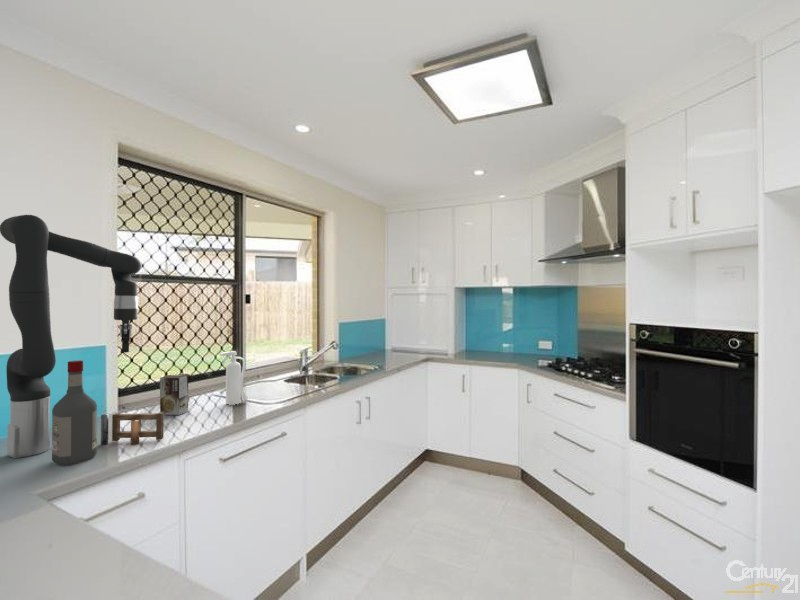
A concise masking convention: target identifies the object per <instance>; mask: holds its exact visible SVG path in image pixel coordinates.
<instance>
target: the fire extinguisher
mask: <svg viewBox="0 0 800 600" xmlns="http://www.w3.org/2000/svg"><path fill="white" fill-rule="evenodd" d="M237 355H238V354H237V351H236V350H233V351H232V350H231V351H225V352H221V353H219V356H226V357H224V359H223V360H222V362H221V365H223V366H225V363H226V361H227V360H228V359H229V358H230V357H231V360H230V362H228V363H227V364H226V366H225V405H226V404H229V405H228V406H236V405H235V404H237V405H239V403H240V404H241V403H242V402H245V401H248V400H249V399H250V397H249V395H248V394H247V391H245V389H244V376H245V367H246V359H245V358H244V357H242V356H237ZM238 359H239V360H241V361H242V365H241V363H240V362H238V361H237V360H238ZM241 400H242V401H241Z"/></svg>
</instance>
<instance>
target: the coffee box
mask: <svg viewBox="0 0 800 600" xmlns="http://www.w3.org/2000/svg"><path fill="white" fill-rule="evenodd" d="M187 411H188V412H189V375H188V374H168V375H165V376H162V377H161V376H160V377H159V412H164V416H180V414H181V415H183V414H185V412H186V413H187ZM182 413H183V414H182Z"/></svg>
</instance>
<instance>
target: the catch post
mask: <svg viewBox="0 0 800 600" xmlns="http://www.w3.org/2000/svg"><path fill="white" fill-rule="evenodd" d="M130 431H131V438H130V445H131V446H137V445H139V444H140V437H139V419H135V420H130Z"/></svg>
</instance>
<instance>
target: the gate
mask: <svg viewBox="0 0 800 600" xmlns="http://www.w3.org/2000/svg"><path fill="white" fill-rule="evenodd" d="M164 416H165V415H164V412H160V411H159V412H151V413H150V412H148V413H146V412H145V413H144V412H143V413H119V412H118V413H114V414H112V416H111V417H112V421H111V422H112V423H111V425H112V426H111V428H112V429H111V431H112V432H111V442H119V441H120V440H121V439H129V438H130V439H131V430H125V431H123V430H121V421H131V420H135V419H139V438H155V440H157V441H158V440H159V441H161V440H163V439H164V424H165V423H164V422H165V421H164V420H165V419H164ZM150 420H151V421H152V420H155V421H156V424H155V426H156V428H155V429H154V430H142V421H150Z"/></svg>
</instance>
